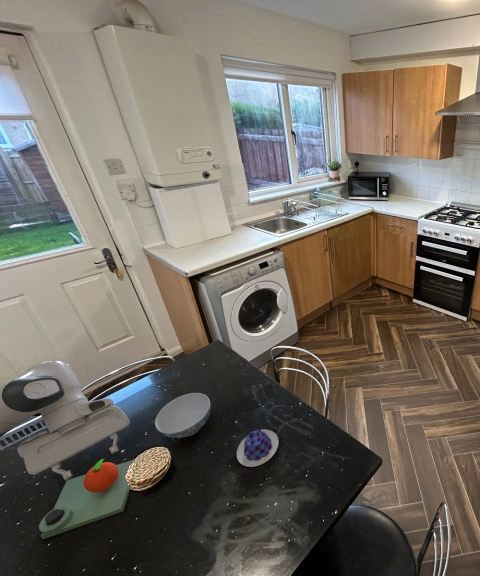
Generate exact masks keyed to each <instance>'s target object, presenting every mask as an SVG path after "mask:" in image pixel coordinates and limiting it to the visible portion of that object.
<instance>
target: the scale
mask: <svg viewBox="0 0 480 576" xmlns="http://www.w3.org/2000/svg"><path fill="white" fill-rule="evenodd" d="M134 460H135V459H132V460H128V461H125V462H122V463H119V464H115V465H116V466H117V467H118V470H119V473H118V477H117V479H116V481H115V482H114V484H113V485H112V486H111V487H109V488H108V489H106V490H104V491H101V492H97V493H95V492H89V491H88V490H86V489H85V487H84V478H85V476H86V474H83V475H80V476H77V477H74V478H69V479H67V480H65V483H64V485H63V487H62V490H61V492H60V494H59V496H58V498H57V501H56V502H55V505H54V507H53V509H52V510H51V511H53V510H55V509H60V510H61V511H62V512H63V514H64V515H63V517H62V518H61V520H60V521H58V522H57V523H55V524H53V525H49V524H48V523H47V522H46V521H45V518H46V516H47V515H48V514H49V513H50V512H51V511H49V512H48V513H47V514H46V515H44V517H43V518H42V519H40V520H41V521H40V522H39V525H38V528H39V529H38V530H39V532H41V534H40V538H41V539H43V540H45V539H48V538H52V537H54V536H57V535H60V534H62V533H65V532H68V531H72V530H74V529H77V528H80V527H82V526H86V525H88V524H91V523H94V522H96V521H100V520H102V519H105V518H109V517H112V516H114V515H116V514H119V513H122V512H124V510H125V507H126V503H127V500H128V498H129V494H130V490H131V486H132V484H131V485H130V484H129V486H128V482H127V480H126V478H125V476H126V474H127V471H128V469H129V466H130V465H131V464H132V463H133V461H134Z"/></svg>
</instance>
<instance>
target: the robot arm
mask: <svg viewBox="0 0 480 576" xmlns="http://www.w3.org/2000/svg"><path fill="white" fill-rule="evenodd" d="M38 414H40V415H41V419H42V420H43V422H44V425H45V427H46V429H44V430H42V431H40V432H38V433H36V434H34V435H32V436H30V437H26V438H25V439H23V441H22V442H21V443H20V444H19V445H18V446H17V449H16V450H17V453H18V456H19V457H20V458H21V459H23V462H24V466H25V469H26V472H27V474H28V475H31V476H37V475H40V474H43V473H44V472H45V471H47V470H49V469H51V471H52V472H54V473H55V474H59V475H61V476H62V478H63V480H64V481H67V480H70V479H71V478H72V477H74V476H75V475H74V472H73V470H72V469H68V470H65V469H63V468H62V467H63V464H62V463H63V462H65V461H67V460H69V459H70V458H72V457H74V456H75V455H77V454H80V453H82V452H83V451H85V450H88V449H90V448H91V447H93V446H95V445H97V444H99V443H100V442H102V441H104V440H107V439H108V438H109V439H110V440H113V442H112V446H111V447H109V448H108V450H109V451H110V454H111V455H114V454H115V453H117V452H118V451H119V450H120V449H119V446H118V442H119V434H118V433H120V432H121V431H123V430H125V429H127V428H129V427H130V425H131V420H130V418H129V417H128V416H127V414H126V413H125V412H124V410H122V408H121V407H119V406H117V405H115V403H114V400H113V399H112V398H110V397H109V398H108V397H105V398H100V399H97V400H93V401H89V399H88V397H87V396H86V395H84V394H83V392H82V386H81V383H80V381H79V379H78V377H77V376H76V374H75V373H74V371H73V370H72V368H71V367H70V366H69V365H68V364H67V363H66V362H64V361H61V360H49V361H45V362H41V363H37V364H35V365H32V366H30V367H28V368H27V369H26V370H25V372H23V373H22V374H21V375H20V376H17V377H15V378H14V379H12V380H10V381H7V382H6V383H4V384H3V385H1V386H0V438H2V437H3V436H4V435H6V434H7V433H9V432H10V431H12V430H13V429H14V428H15V427H17V426H19V425H21V424H22V423H24V422H26V421H28V420H29V419H31V418H32V417H33V416H35V415H38Z"/></svg>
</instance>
